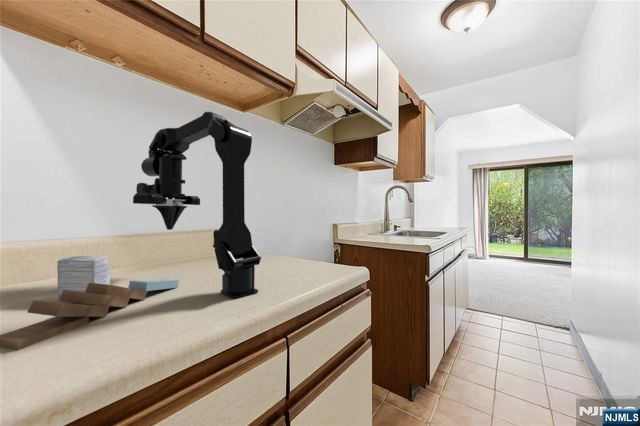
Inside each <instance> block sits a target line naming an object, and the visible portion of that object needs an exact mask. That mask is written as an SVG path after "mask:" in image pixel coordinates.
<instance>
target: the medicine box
mask: <svg viewBox="0 0 640 426" xmlns="http://www.w3.org/2000/svg"><path fill="white" fill-rule="evenodd" d="M110 258H111V257H110V256H107V255H106V256H99V255H98V256H96V255H93V256H92V255H91V256H90V255H89V256H87V255H85V256H84V255H83V256H82V255H79V256H77V255H76V256H69V257H65V258H61V259H58V260H57V263H56V264H57V268H56V269H57V300H59V298H60V296H61V294H62V292H63V290H70V291H78V292H85V290H86V288H87V286H88V284H89V283H98V284H107V285H111V276H110V275H111V274H110V273H111V271H110V269H111V268H110V267H111V264H110V261H111V260H110Z"/></svg>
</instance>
